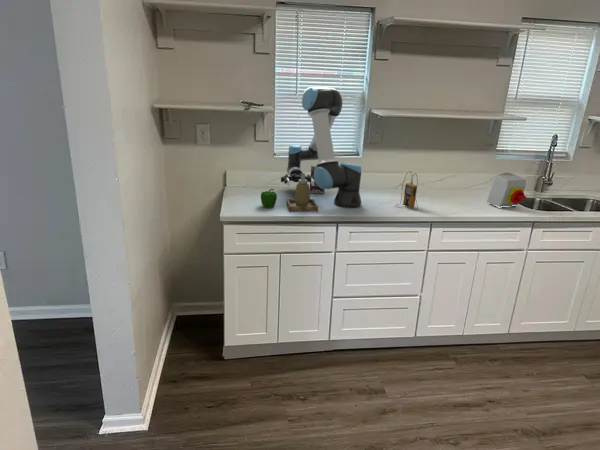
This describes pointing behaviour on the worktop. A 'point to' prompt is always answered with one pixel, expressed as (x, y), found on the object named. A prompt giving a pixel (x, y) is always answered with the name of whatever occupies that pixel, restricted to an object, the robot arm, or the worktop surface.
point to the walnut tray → (310, 207)
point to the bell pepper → (268, 198)
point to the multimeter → (410, 194)
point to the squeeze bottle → (302, 192)
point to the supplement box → (315, 188)
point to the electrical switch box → (507, 190)
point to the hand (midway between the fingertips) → (301, 183)
